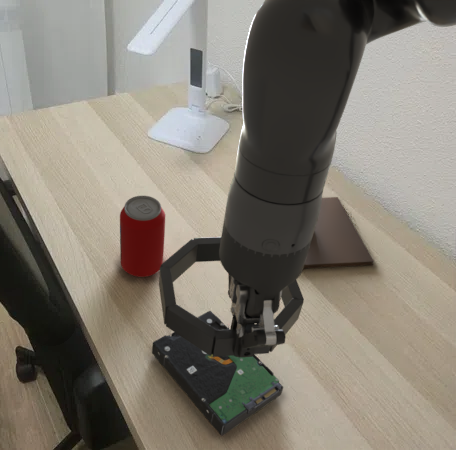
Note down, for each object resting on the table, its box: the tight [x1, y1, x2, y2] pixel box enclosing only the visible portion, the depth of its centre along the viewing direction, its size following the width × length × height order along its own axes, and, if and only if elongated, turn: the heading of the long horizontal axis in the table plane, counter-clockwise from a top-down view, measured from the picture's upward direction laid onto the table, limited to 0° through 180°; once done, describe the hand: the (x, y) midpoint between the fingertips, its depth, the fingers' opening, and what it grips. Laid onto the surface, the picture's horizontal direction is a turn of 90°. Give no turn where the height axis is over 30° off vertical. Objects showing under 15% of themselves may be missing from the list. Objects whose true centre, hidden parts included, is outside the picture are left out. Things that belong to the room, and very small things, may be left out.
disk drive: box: [151, 310, 284, 437], centre depth 72 cm, size 10×3×15 cm
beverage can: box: [119, 195, 166, 278], centre depth 84 cm, size 7×7×12 cm
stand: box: [303, 196, 375, 269], centre depth 93 cm, size 17×17×6 cm
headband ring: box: [158, 236, 305, 357], centre depth 62 cm, size 15×15×3 cm
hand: (241, 346), depth 58 cm, fingers closed on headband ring, 1 cm apart
